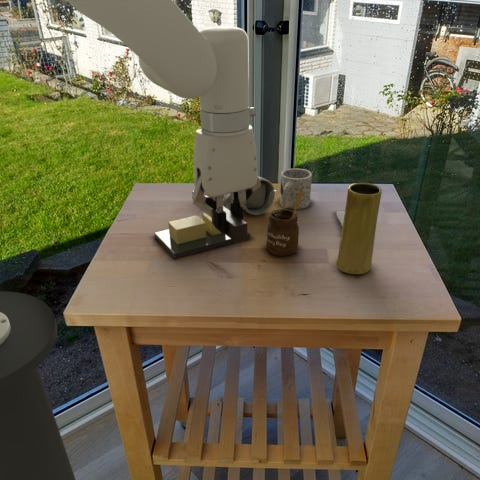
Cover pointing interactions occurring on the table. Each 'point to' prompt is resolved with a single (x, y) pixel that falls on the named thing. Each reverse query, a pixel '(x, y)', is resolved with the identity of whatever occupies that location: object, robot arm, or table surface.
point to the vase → (359, 228)
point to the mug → (295, 187)
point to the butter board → (192, 243)
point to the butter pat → (210, 225)
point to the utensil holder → (283, 229)
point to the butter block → (187, 229)
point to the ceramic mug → (257, 198)
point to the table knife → (228, 222)
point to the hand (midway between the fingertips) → (228, 227)
